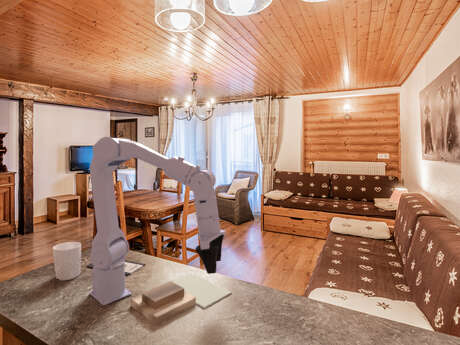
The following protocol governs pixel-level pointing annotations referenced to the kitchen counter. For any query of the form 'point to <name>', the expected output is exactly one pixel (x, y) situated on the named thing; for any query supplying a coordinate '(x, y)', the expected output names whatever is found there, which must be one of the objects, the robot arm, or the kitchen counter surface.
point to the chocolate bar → (127, 267)
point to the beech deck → (163, 308)
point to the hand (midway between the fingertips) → (214, 266)
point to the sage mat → (201, 290)
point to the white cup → (67, 260)
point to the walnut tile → (162, 295)
